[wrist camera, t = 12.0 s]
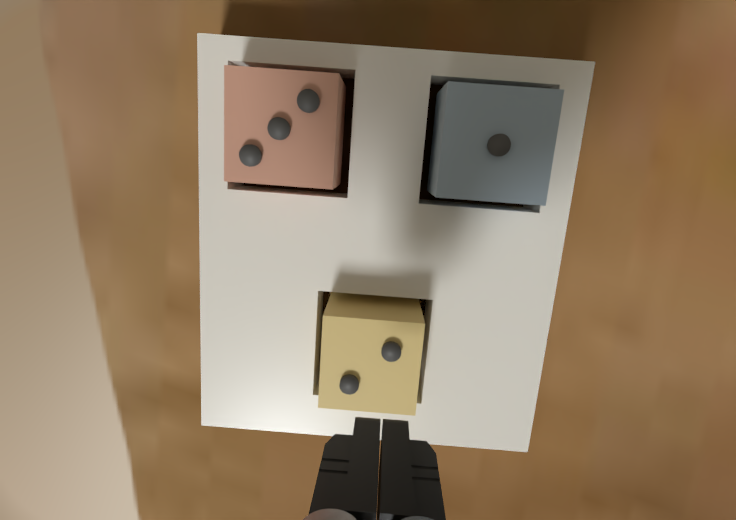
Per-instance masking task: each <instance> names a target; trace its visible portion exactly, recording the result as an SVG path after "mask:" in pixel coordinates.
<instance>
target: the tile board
mask: <svg viewBox="0 0 736 520" xmlns="http://www.w3.org/2000/svg"><path fill="white" fill-rule="evenodd" d="M197 49H198V142H199V235H200V328H201V421H202V425H205V426H217V427H229V428H241V429H253V430H265V431H277V432H290V433H302V434H314V435H326V436H334V435H335V434H344V435H353V430H354V423H355V417H366V418H378V419H381V422H380V440H381V437H382V423H383V419H392V420H405V421H408V423H409V439H410V440H421V441H427V442H428V444H435V445H447V446H460V447H472V448H484V449H496V450H508V451H520V452H528V447H529V441H530V435H531V430H532V424H533V418H534V412H535V406H536V401H537V395H538V389H539V383H540V378H541V372H542V366H543V360H544V355H545V349H546V343H547V337H548V332H549V326H550V320H551V314H552V308H553V303H554V297H555V291H556V285H557V280H558V274H559V268H560V262H561V257H562V251H563V245H564V239H565V234H566V228H567V222H568V216H569V210H570V205H571V199H572V193H573V187H574V182H575V176H576V170H577V164H578V159H579V153H580V147H581V141H582V135H583V130H584V124H585V118H586V112H587V107H588V101H589V95H590V89H591V84H592V78H593V72H594V66H595V62H592V61H578V60H564V59H551V58H537V57H523V56H509V55H495V54H481V53H468V52H454V51H440V50H426V49H412V48H398V47H385V46H371V45H357V44H343V43H329V42H315V41H302V40H288V39H274V38H260V37H246V36H232V35H219V34H205V33H197ZM224 65H233V66H246V67H260V68H274V69H287V70H301V71H315V72H329V73H339V74H340V76H341V78H349V79H355V85H354V101H353V117H352V133H351V149H350V165H349V181H348V194H347V193H334V192H321V191H308V190H295V189H282V188H268V187H255V186H244V183H239V182H226V181H224ZM448 81H452V82H466V83H480V84H494V85H507V86H521V87H535V88H548V89H562V90H564V95H563V101H562V107H561V114H560V120H559V126H558V132H557V138H556V145H555V151H554V157H553V163H552V169H551V176H550V182H549V188H548V194H547V200H546V206H541V205H528V204H523V207H518V206H505V205H492V204H479V203H466V202H452V201H439V200H426V199H419V194H420V184H421V174H422V164H423V154H424V143H425V133H426V123H427V113H428V103H429V92H430V84H431V85H445V84H446V83H447V82H448ZM324 291H327V292H339V293H352V294H365V295H378V296H390V297H403V298H416V299H426V306H425V315H424V321H425V330H424V340H423V349H422V358H421V368H420V377H419V386H418V395H417V405H416V414H415V416H412V415H400V414H388V413H375V412H363V411H351V410H339V409H326V408H318V395H319V377H320V372H319V370H320V351H321V332H322V313H323V295H324Z"/></svg>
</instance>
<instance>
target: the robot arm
mask: <svg viewBox="0 0 736 520" xmlns="http://www.w3.org/2000/svg"><path fill="white" fill-rule="evenodd" d="M380 422H381V419H378V418H366V417H355V423H354V430H353V435H344V434H335V435H334V436H333V437H332V438H331V439H330V440H329V441H328V442H327V443H326V444H325V447H324V451H323V456H322V461H321V464H320V468H319V473H318V477H317V481H316V485H315V490H314V494H313V498H312V502H311V507H310V511H309V515H308V516H306V517H305V518H304V519H303V520H376V513H377V520H446V518H445V511H444V505H443V498H442V491H441V484H440V478H439V471H438V464H437V458H436V453H435V452H434V450H433V449H432V448H431V446H430V445H429V444H428V442H427V441H421V440H410V439H409V423H408V421H405V420H392V419H383V423H382V437H381V451H380V466H379V445H380ZM378 468H379V482H378ZM377 491H378V504H377Z"/></svg>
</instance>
